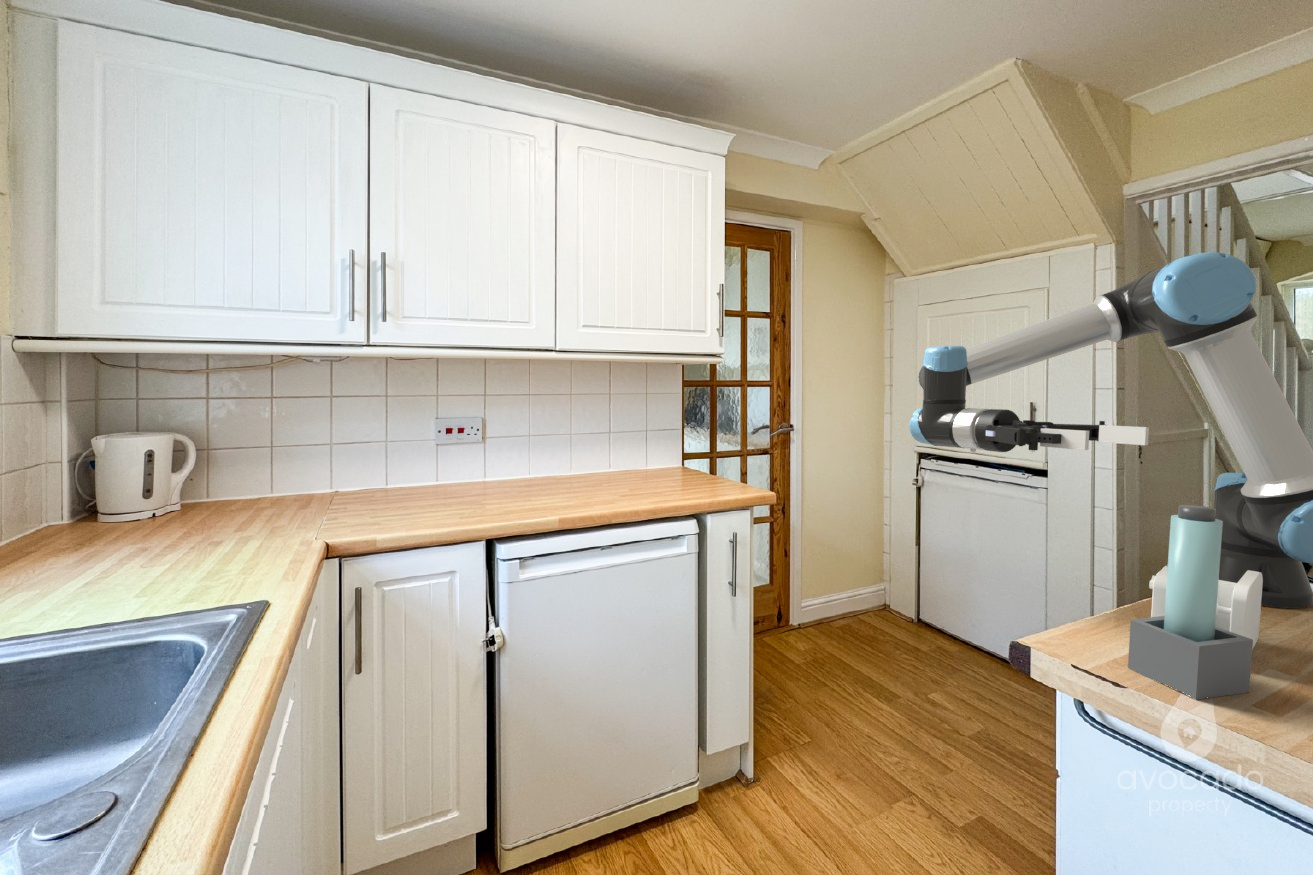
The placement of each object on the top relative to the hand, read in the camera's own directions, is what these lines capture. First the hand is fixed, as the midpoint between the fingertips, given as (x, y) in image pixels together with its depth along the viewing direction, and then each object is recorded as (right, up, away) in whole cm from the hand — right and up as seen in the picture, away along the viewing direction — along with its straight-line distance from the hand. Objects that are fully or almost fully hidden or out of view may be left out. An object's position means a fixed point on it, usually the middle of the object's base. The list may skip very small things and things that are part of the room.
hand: (1118, 438), depth 84 cm
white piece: (+16, -32, +3) cm, 36 cm away
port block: (+4, -33, -6) cm, 33 cm away
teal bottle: (+4, -33, -6) cm, 33 cm away
